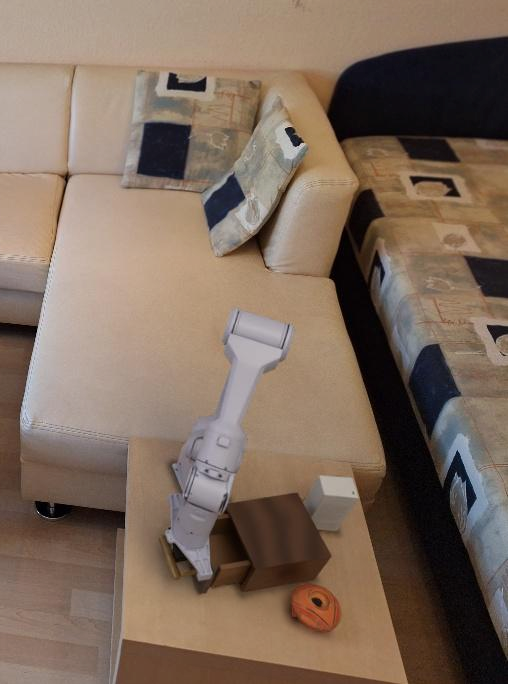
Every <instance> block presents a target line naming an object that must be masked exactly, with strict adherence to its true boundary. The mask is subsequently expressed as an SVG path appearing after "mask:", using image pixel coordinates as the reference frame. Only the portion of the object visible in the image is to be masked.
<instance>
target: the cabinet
mask: <svg viewBox="0 0 508 684" xmlns="http://www.w3.org/2000/svg"><path fill="white" fill-rule="evenodd" d="M303 503H304V501H303V500H302V498H301V497H300V495H299V493H298V492H291V493H284V494H279V495H272V496H265V497H259V498H254V499H253V498H252V499H246V500H241V501H235V502H228V505H227V507H226V509H225V511H224V512H223V514H229V516H230V518H231V520H232V523H233V525H234V527H235V529H236V531H237V534H238V536H239V538H240V540H241V543H242V545H243V547H244V549H245V551H246V554H247V556H248V558H249V560H250V562H251V565H252V568H251V570H250V572H249V574H248V575H247V577H246V579H245V581H244V582H238V583H237V585H238V586H239V589H240V591H241V593H247V592H254V591H258V590H264V589H269V588H270V589H271V588H275V587H282V586H287V585H292V584H299V583H303V582H305V583H306V582H309V581H310V582H311V581H314V580H316V578H317V577H318V576H319V574H320V573H321V572H322V570H323V569H324V567H326V564H328V562H329V561H330V559H331V558H332V557H333V556H332V555H333V554H332V553H331V551H330V550H329V548H328V546H327V544H326V543H325V540H324V539H323V537H322V535H321V534H320V531H319V530H317V528H316V526H315V524H314V522H313V520H312V519H311V517H310V515H309V513H308V511H307V509H306V508H305V506H304V504H303Z"/></svg>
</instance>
